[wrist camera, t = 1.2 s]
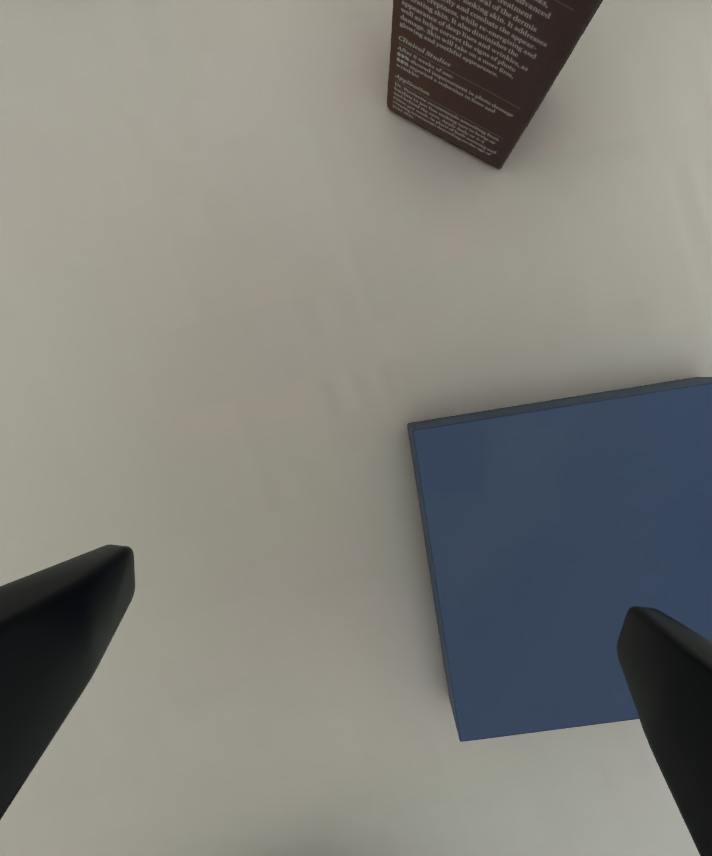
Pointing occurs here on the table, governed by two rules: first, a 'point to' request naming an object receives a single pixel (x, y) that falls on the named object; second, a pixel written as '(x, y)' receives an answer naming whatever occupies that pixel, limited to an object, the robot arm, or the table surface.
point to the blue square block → (562, 546)
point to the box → (480, 65)
